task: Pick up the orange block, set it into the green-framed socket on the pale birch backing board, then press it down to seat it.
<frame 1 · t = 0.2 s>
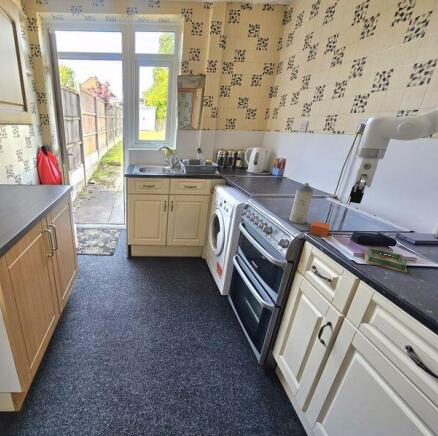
hand: (354, 199, 94), 19 cm above the countertop, tool pointing down, fingers open, 9 cm apart
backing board: (383, 262, 88), on the countertop
orange block: (318, 233, 110), on the countertop
aerosol can: (296, 222, 123), on the countertop
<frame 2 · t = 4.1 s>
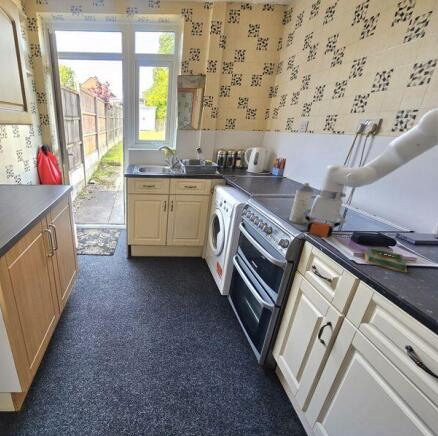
hand: (318, 232, 110), 1 cm above the countertop, tool pointing down, fingers closed on orange block, 6 cm apart
orange block: (318, 233, 110), on the countertop, touching gripper
everything else where it was.
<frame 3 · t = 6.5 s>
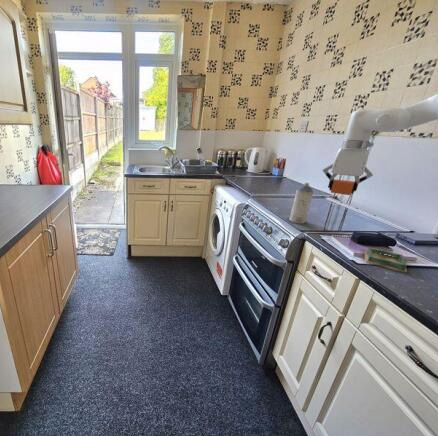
hand: (341, 190, 99), 21 cm above the countertop, tool pointing down, fingers closed on orange block, 6 cm apart
orange block: (340, 192, 100), point 20 cm above the countertop, touching gripper
everything else where it was.
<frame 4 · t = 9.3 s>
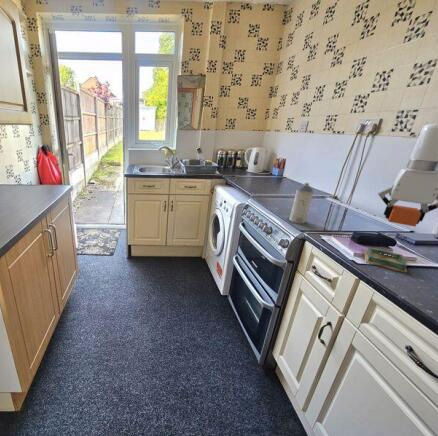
hand: (400, 219, 82), 17 cm above the countertop, tool pointing down, fingers closed on orange block, 6 cm apart
orange block: (400, 221, 82), point 16 cm above the countertop, touching gripper
everything else where it was.
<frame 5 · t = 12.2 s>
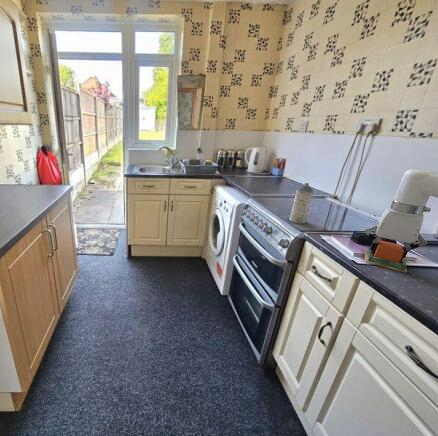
hand: (385, 255, 87), 3 cm above the countertop, tool pointing down, fingers closed on orange block, 6 cm apart
orange block: (385, 256, 87), point 2 cm above the countertop, touching gripper
everything else where it was.
when the fingers open (3 cm above the countertop, at t = 14.8 s): orange block drops 1 cm, resting on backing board.
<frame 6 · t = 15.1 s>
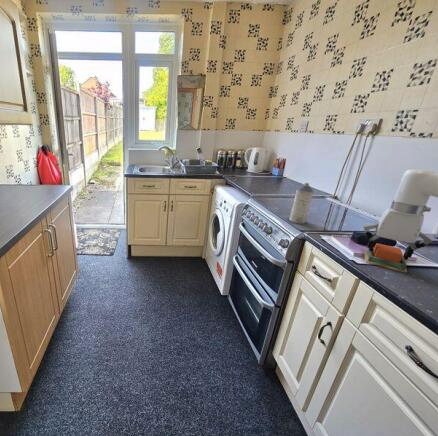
hand: (387, 253, 87), 4 cm above the countertop, tool pointing down, fingers open, 8 cm apart
orange block: (384, 259, 88), point 1 cm above the countertop, touching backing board
everything else where it was.
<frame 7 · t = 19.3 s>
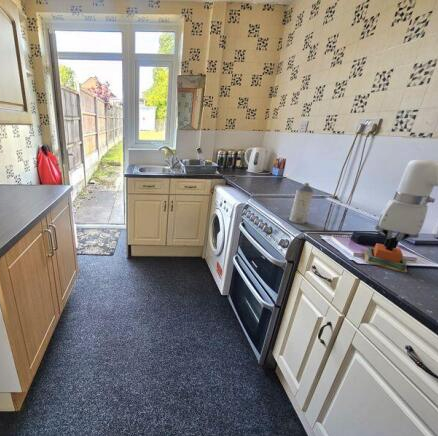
hand: (388, 248, 86), 5 cm above the countertop, tool pointing down, fingers closed
orange block: (384, 260, 88), point 1 cm above the countertop, touching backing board, gripper
everything else where it was.
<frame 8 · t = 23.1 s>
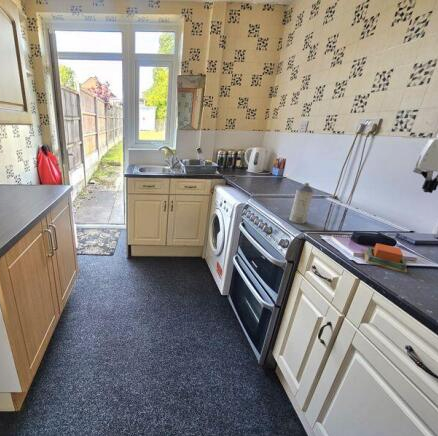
hand: (427, 191, 83), 25 cm above the countertop, tool pointing down, fingers closed
orange block: (384, 259, 88), point 1 cm above the countertop, touching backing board
everything else where it was.
at the end: orange block 0.0 cm off-centre on the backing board, point 1.0 cm above the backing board's base; orange block tilted 0°; the gripper is holding nothing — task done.
